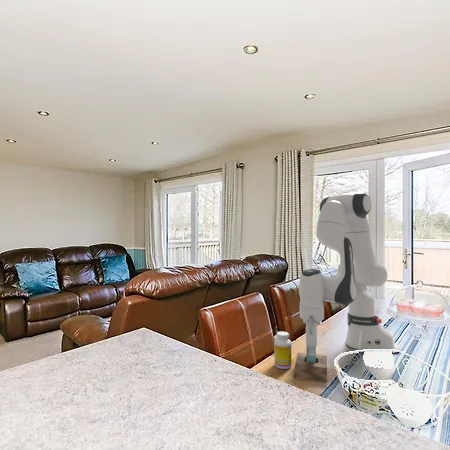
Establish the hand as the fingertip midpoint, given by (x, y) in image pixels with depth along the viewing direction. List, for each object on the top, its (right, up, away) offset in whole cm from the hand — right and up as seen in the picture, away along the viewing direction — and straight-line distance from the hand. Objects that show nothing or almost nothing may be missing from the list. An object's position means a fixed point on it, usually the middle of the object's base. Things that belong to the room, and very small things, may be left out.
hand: (312, 350), depth 118 cm
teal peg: (0, -9, 0) cm, 9 cm away
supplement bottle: (-10, -9, +6) cm, 15 cm away
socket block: (0, -9, 0) cm, 9 cm away
